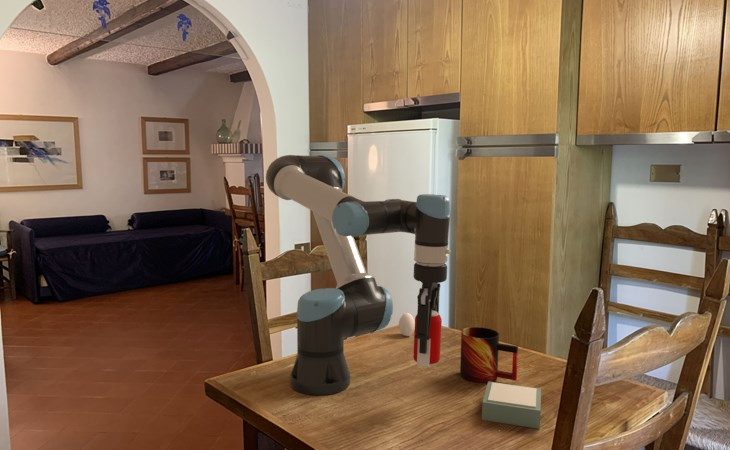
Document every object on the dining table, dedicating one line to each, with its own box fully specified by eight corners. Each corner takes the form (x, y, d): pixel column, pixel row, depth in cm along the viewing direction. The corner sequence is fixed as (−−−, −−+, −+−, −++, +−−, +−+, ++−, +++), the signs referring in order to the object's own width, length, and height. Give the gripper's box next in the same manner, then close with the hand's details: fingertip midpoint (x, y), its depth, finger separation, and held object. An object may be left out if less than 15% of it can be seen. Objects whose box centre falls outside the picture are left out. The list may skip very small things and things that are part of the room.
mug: (517, 385, 134) (519, 339, 133) (462, 383, 135) (464, 338, 134) (509, 370, 144) (510, 328, 143) (457, 369, 145) (459, 326, 144)
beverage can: (411, 365, 121) (413, 314, 119) (415, 356, 127) (417, 307, 125) (438, 369, 119) (440, 317, 118) (440, 359, 125) (443, 309, 124)
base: (481, 419, 116) (482, 400, 115) (487, 397, 127) (488, 380, 126) (539, 428, 112) (540, 409, 111) (540, 405, 123) (541, 387, 123)
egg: (418, 336, 172) (418, 313, 172) (404, 339, 170) (404, 316, 169) (408, 332, 177) (409, 310, 176) (395, 334, 174) (395, 312, 173)
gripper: (438, 272, 110) (434, 378, 113) (454, 257, 128) (449, 349, 131) (403, 269, 112) (399, 373, 115) (423, 254, 130) (419, 344, 133)
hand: (426, 360), depth 123 cm, fingers closed on beverage can, 6 cm apart
